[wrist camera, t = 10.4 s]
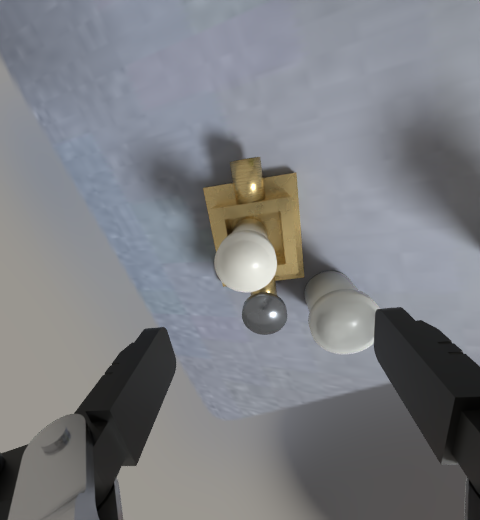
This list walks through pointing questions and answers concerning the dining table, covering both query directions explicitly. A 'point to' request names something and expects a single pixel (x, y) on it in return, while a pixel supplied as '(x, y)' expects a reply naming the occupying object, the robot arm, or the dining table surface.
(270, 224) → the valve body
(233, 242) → the white mushroom shaped knob
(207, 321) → the dining table surface
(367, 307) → the cylinder
